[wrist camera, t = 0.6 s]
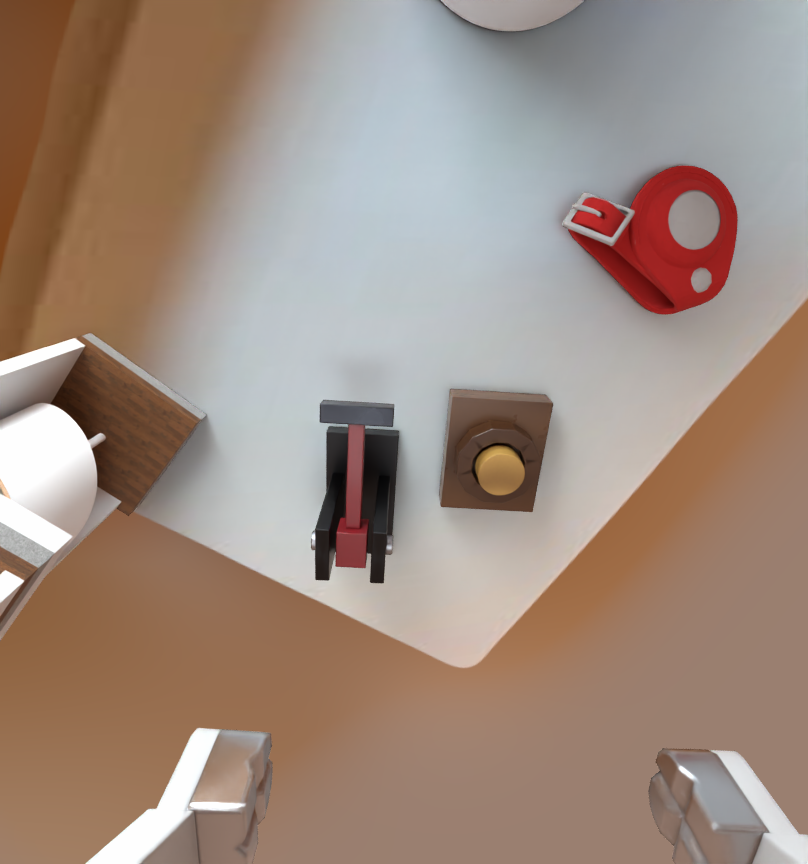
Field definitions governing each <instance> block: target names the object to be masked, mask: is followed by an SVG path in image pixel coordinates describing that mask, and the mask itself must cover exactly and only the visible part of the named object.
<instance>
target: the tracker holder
mask: <svg viewBox="0 0 808 864" xmlns="http://www.w3.org/2000/svg"><path fill="white" fill-rule="evenodd" d="M572 207H573V208H572V209H571V211H570V212H569V214H568V215H567V217H566V218H565V220H564V221H563V222H562V225H563V227H566V228H568V231H569V232H570V234H571V236H572V237H573V238H574V239H575V240H576V241H577V242H578V243H579V244H580V245H581V246H582V247H583V248H584V249H585V250H586V251H587V252H588V253H590V254H591V255H592V256H593V257H594V258H595V259H596V260H597V261H598V262H599V263H600V264H601V265H602V266H603V267H604V268H605V269H606V270H607V271H608V272H609V273H610V274H611V275H612V276H613V277H614V278H615V279H616V280H617V281H618V282H619V283H620V284H621V285H622V286H623V287H624V288H625V290H626V291H627V292H628V293H629V294H630V295H631V296H632V297H633V298H634V299H635V300H636V301H637V302H638V303H639V304H640V305H642V306H643V307H644V308H646V309H647V310H649V311H651V312H654V313H657V314H674V313H677V312H680V311H683V310H686V309H689V308H692V307H695V306H698V305H701V304H703V303H705V302H708V301H709V300H711V299H713V298H714V297H715V296H716V295H717V294H718V293H719V292H720V291H721V289H722V288H723V286H724V285H725V282H726V280H727V278H728V274H729V270H730V266H731V262H732V258H733V254H734V248H735V242H736V235H737V210H736V206H735V203H734V200H733V198H732V196H731V194H730V192H729V191H728V189H727V187H726V186H725V185H724V184H723V183H722V182H721V181H720V179H718V178H717V177H716V176H715V175H713V174H712V173H710V172H708V171H706V170H704V169H701V168H698V167H695V166H676V167H672V168H669V169H666V170H664V171H662V172H660V173H659V174H657V175H656V176H654V177H653V178H651V179H650V180H649V181H648V182H647V183H646V184H645V185H644V186H643V188H642V189H641V190H640V191H639V192H638V194H637V195H636V197H635V199H634V201H633V203H632V205H631V207H630V208H627V207H624V206H622V205H619V204H616V203H614V202H611V201H608V200H605V199H603V198H600V197H597V196H595V195H592V194H589V193H587V192H584V193H582V195H581V196H580V198H579V199H578V201H577V202H576V204H573V205H572Z"/></svg>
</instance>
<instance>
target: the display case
mask: <svg viewBox="0 0 808 864" xmlns="http://www.w3.org/2000/svg"><path fill="white" fill-rule="evenodd" d="M205 416H206V414H205V413H203V412H202V411H201V410H199V409H198V408H196V407H195V406H193V405H192V404H191V403H189V402H188V401H186V400H185V399H184V398H182V397H181V396H179V395H178V394H177V393H175V392H174V391H172V390H171V389H169V388H168V387H167V386H165V385H164V384H162V383H161V382H160V381H158V380H157V379H155V378H154V377H152V376H151V375H150V374H148V373H147V372H145V371H144V370H143V369H141V368H140V367H138V366H137V365H135V364H134V363H133V362H131V361H130V360H128V359H127V358H126V357H124V356H123V355H121V354H120V353H119V352H117V351H116V350H114V349H113V348H111V347H110V346H109V345H107V344H106V343H104V342H103V341H102V340H100V339H99V338H97V337H96V336H94V335H93V334H92V333H89V334H86V335H83V336H80V337H77V338H74V339H70V340H67V341H64V342H61V343H58V344H55V345H52V346H48V347H45V348H42V349H39V350H36V351H33V352H30V353H26V354H23V355H20V356H17V357H14V358H11V359H8V360H5V361H1V362H0V640H1V639H2V637H3V636H4V634H5V633H6V632H7V630H8V629H9V627H10V626H11V624H12V623H13V622H14V620H15V619H16V617H17V616H18V614H19V613H20V611H21V610H22V609H23V607H24V606H25V604H26V603H27V602H28V600H29V599H30V597H31V596H32V594H33V593H34V592H35V590H36V589H37V587H38V586H39V584H40V583H41V581H42V580H43V579H44V577H45V576H46V575H47V574H48V573H49V572H50V571H51V570H53V569H54V568H55V566H57V565H58V564H59V563H60V562H61V561H62V560H63V559H64V558H65V557H66V556H67V555H68V554H69V553H70V552H71V551H72V550H73V549H75V548H76V547H77V546H78V545H79V544H80V543H81V542H82V541H83V540H84V539H85V538H86V537H87V536H88V535H89V534H90V533H91V532H92V531H93V530H94V529H95V528H97V527H98V526H99V524H101V523H102V522H103V521H104V520H105V519H106V518H107V517H108V516H109V515H110V514H111V513H112V512H113V511H114V510H115V509H118V510H120V511H122V512H123V513H125V514H126V515H128V516H129V515H130V514H131V513H132V512H133V511H134V510H135V509H136V508H137V507H138V506H139V505H140V504H141V502H142V501H143V500H144V498H145V497H146V496H147V494H148V493H149V492H150V490H151V489H152V488H153V486H154V485H155V484H156V482H157V481H158V479H159V478H160V477H161V475H162V474H163V473H164V471H165V470H166V469H167V467H168V466H169V465H170V463H171V462H172V461H173V459H174V458H175V457H176V455H177V454H178V452H179V451H180V450H181V448H182V447H183V446H184V444H185V443H186V442H187V440H188V439H189V438H190V436H191V435H192V434H193V432H194V431H195V430H196V428H197V427H198V425H199V424H200V423H201V421H202V420H203V419H204V417H205Z"/></svg>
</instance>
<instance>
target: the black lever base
mask: <svg viewBox="0 0 808 864" xmlns="http://www.w3.org/2000/svg"><path fill="white" fill-rule="evenodd" d="M398 439H399V431H395V430H379V429H365V446H364V470H363V494H362V517H361V519H369V535H368V553H369V554H371V574H370V583H384V571H385V555H386V554H387V555H391V554H392V550H393V535H392V532H393V516H394V501H395V485H396V470H397V454H398ZM347 459H348V428H345V427H328V430H327V489H326V496H325V499H324V502H323V505H322V509H321V512H320V515H319V518H318V522H317V525H316V528H315V531H313V533H312V538H311V549H312V550H315V579H316V580H329V578H330V574H331V569H332V565H333V560H334V555H335V552H336V533H337V529H338V525H339V522H340V518H346V490H347Z"/></svg>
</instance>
